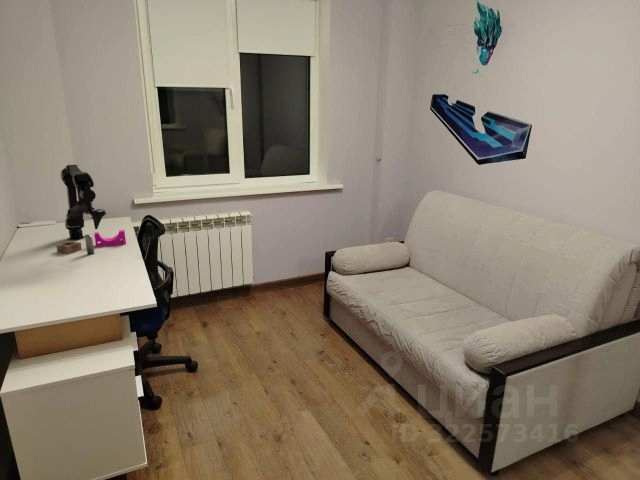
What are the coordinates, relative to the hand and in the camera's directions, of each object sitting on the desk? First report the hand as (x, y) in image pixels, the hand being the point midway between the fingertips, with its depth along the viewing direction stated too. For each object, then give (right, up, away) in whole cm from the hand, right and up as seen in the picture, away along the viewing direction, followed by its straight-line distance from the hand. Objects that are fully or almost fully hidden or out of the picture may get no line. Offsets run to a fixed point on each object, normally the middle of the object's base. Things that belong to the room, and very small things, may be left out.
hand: (88, 228), depth 227 cm
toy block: (+2, -8, +20) cm, 22 cm away
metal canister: (-1, -13, +3) cm, 13 cm away
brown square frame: (-14, -12, +7) cm, 19 cm away
